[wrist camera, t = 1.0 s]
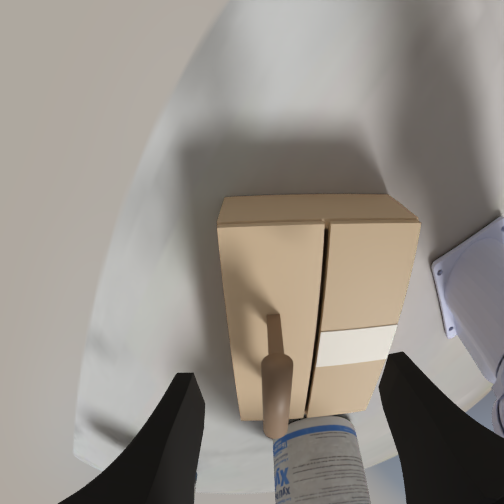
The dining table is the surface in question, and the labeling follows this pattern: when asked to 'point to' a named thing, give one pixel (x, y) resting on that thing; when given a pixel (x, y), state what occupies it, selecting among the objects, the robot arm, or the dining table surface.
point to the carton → (346, 285)
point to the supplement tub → (319, 463)
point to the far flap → (271, 315)
